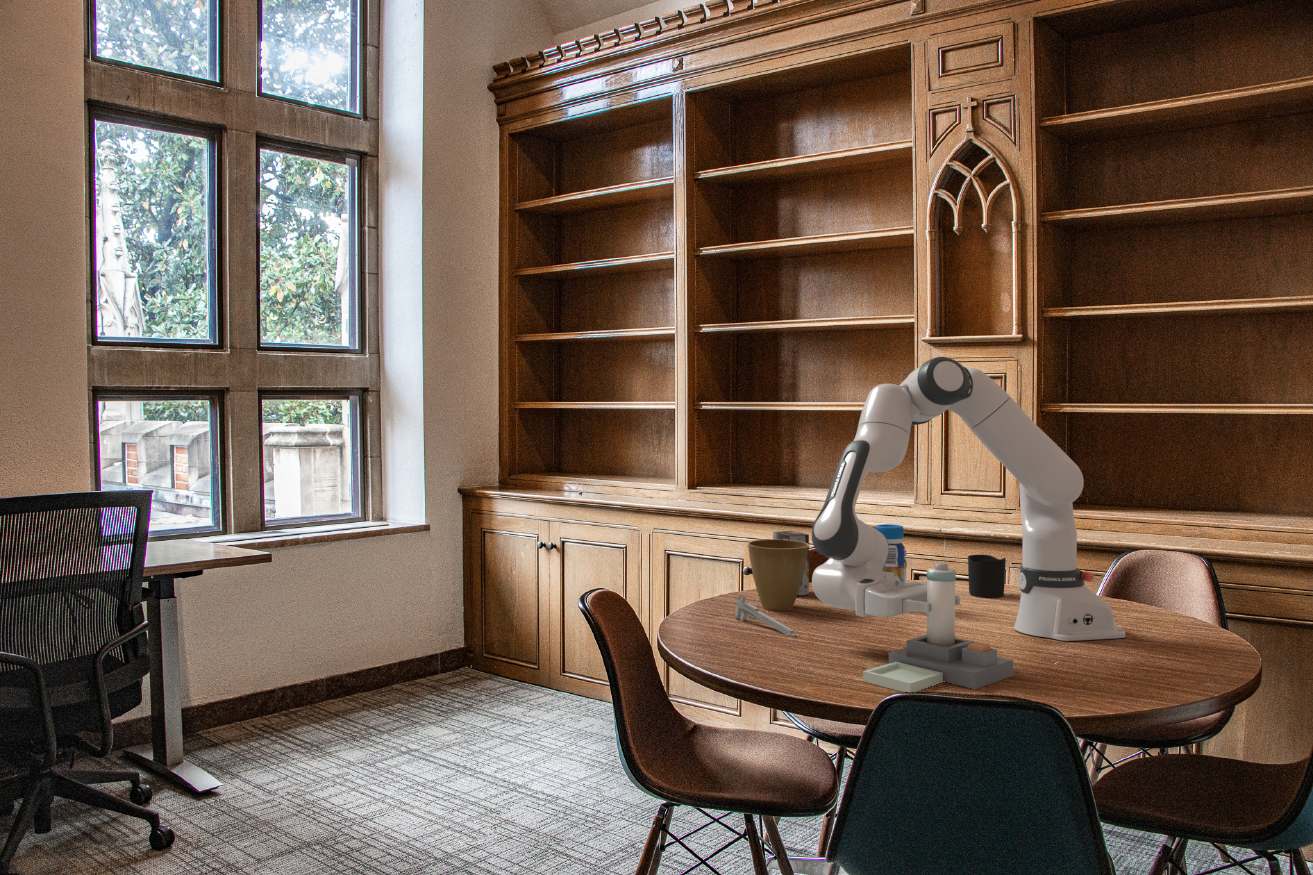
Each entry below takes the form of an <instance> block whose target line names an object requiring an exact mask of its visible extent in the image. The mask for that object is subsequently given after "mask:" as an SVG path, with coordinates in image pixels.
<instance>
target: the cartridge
mask: <svg viewBox="0 0 1313 875" xmlns="http://www.w3.org/2000/svg"><path fill="white" fill-rule="evenodd" d="M956 572H957V571H956V569H954V568H951V567H949V564H948V563H945V562H944V563H943V562H936V563H934V567H928V568H927V569H926V580H927V581H926V582H927V602H930V603H931V604H932V607H931V608H932V611H931V612H928V613H926V635H927V643H930V644H934V645H939V646H944V647H948V646H952V645H955V638H956V632H955V631H956V625H955V624H956V606H955V595H956V579H957V576H956V575H957V573H956Z"/></svg>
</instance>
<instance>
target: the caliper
mask: <svg viewBox="0 0 1313 875" xmlns="http://www.w3.org/2000/svg"><path fill="white" fill-rule="evenodd" d="M746 598H747V597H746V596H744V595H743V594H739V595H738V598H737V599H736V602H735V609H734V612H735V613H734V615H735V620H736V621H738V620H739V621H740V622H745V621H746V620H747V616H748V617H749V618H751V619H752V620H753V621H754V620H759V621H761V622H763V623H764V624H766V625H768V626H770V627H771V628H773V629H775V630H777V631H778V632H780V633H781V634H784V635H785V636H788V635H789V637H792V636H793V637H792V638H795V636H796V637H798V635H797V633H796V632H795V631H794V629H792V628H790V627H789V626H787V625H785V624H783V623H782V622H780V621H778V620H776V619H775V618H773V617H772V616H769V615H767V614H766V613H765V612H762V611H760V609H759V608H758V607H757V606H755V605H753V604H752V603H750V602H748V601H746ZM790 635H791V636H790Z"/></svg>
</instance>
